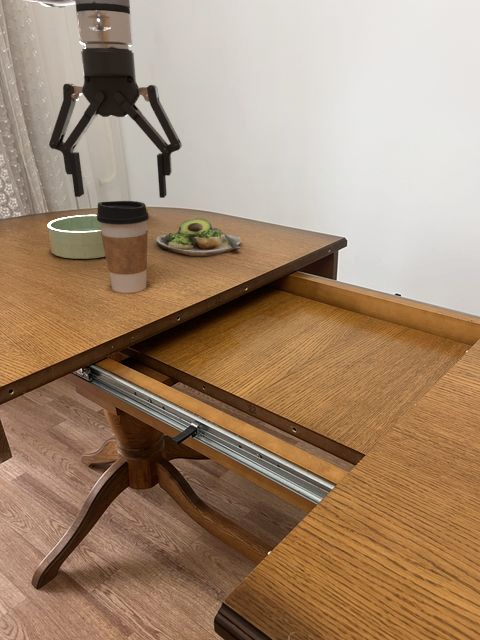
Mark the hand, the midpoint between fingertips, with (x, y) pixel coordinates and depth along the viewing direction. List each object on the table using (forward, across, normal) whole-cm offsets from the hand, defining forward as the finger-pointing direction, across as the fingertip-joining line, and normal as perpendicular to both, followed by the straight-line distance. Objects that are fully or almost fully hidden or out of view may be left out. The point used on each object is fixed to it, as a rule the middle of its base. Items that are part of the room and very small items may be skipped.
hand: (121, 196), depth 89 cm
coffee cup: (+16, 0, 0) cm, 16 cm away
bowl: (+16, -13, +23) cm, 31 cm away
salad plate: (+16, +10, +28) cm, 34 cm away
